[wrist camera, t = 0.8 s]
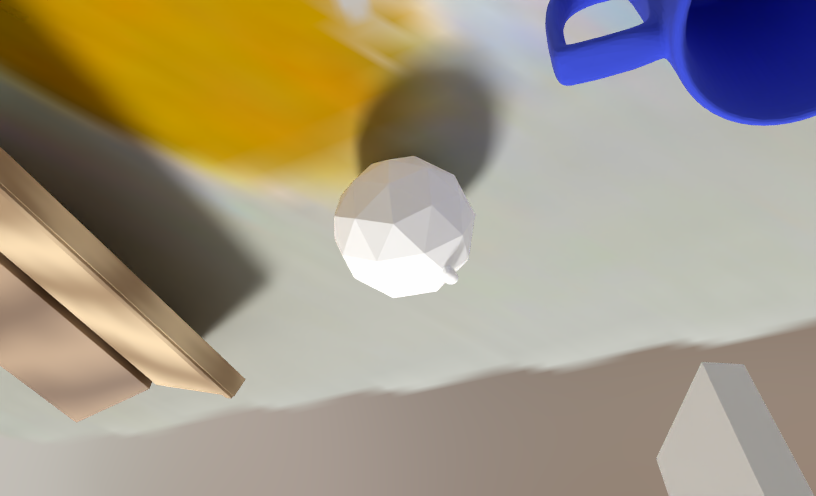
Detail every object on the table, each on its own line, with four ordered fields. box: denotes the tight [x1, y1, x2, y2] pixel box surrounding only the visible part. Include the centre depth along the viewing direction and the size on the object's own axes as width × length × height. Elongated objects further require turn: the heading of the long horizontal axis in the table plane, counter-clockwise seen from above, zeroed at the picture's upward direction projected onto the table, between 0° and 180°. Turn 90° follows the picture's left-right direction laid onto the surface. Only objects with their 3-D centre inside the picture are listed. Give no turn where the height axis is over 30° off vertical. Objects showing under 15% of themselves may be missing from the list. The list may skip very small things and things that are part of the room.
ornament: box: [334, 156, 475, 298], centre depth 35 cm, size 7×7×8 cm
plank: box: [0, 147, 245, 398], centre depth 38 cm, size 20×9×1 cm, turn 31°
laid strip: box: [0, 252, 152, 422], centre depth 42 cm, size 20×8×1 cm, turn 31°
